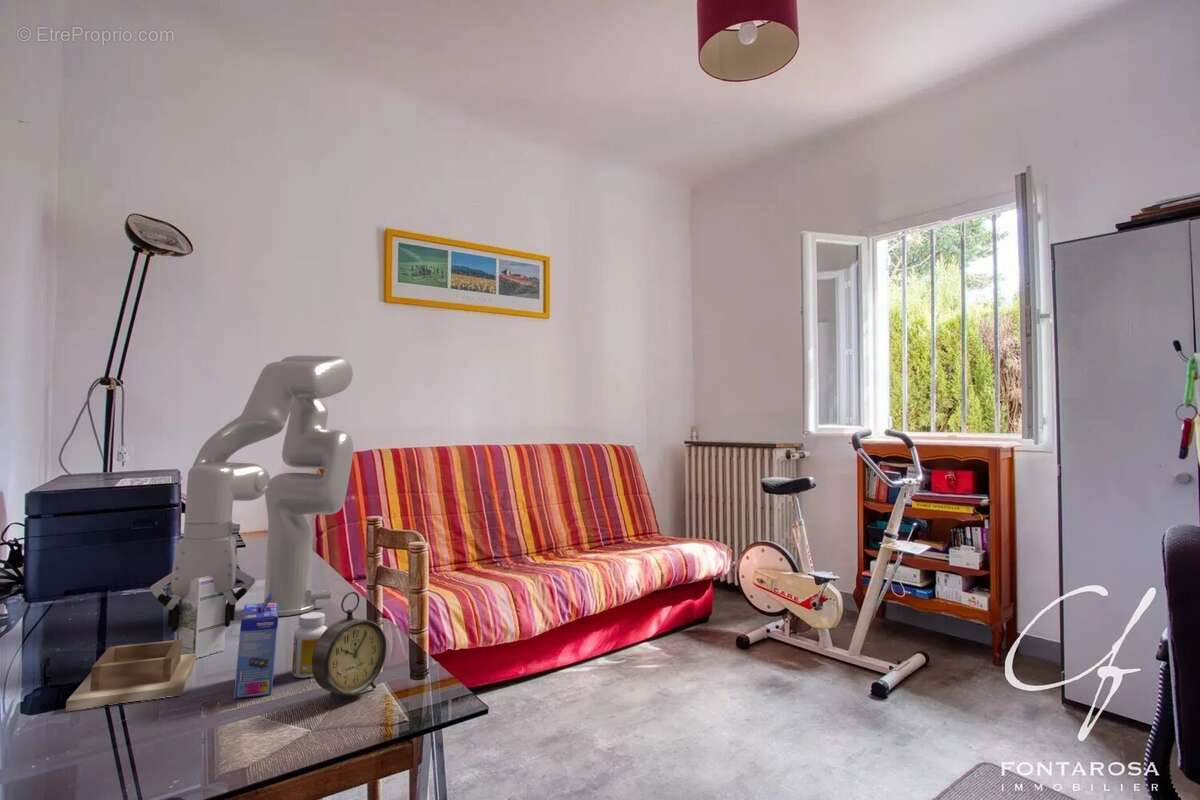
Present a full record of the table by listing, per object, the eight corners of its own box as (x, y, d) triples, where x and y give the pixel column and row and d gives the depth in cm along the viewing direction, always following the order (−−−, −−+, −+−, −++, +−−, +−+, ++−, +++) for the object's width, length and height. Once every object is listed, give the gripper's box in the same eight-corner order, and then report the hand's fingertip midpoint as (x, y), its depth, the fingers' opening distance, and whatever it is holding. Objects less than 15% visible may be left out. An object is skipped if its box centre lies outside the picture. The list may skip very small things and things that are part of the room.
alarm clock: (325, 714, 91) (331, 601, 92) (303, 705, 93) (309, 595, 95) (386, 689, 100) (391, 587, 101) (364, 682, 103) (369, 582, 104)
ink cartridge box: (274, 695, 97) (279, 601, 98) (233, 701, 94) (239, 604, 95) (274, 673, 106) (279, 587, 107) (237, 678, 103) (242, 590, 104)
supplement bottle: (333, 669, 108) (336, 612, 108) (309, 680, 103) (312, 621, 103) (309, 665, 110) (312, 609, 110) (284, 676, 104) (287, 617, 105)
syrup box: (225, 650, 116) (230, 572, 117) (193, 660, 110) (198, 578, 111) (206, 645, 118) (211, 568, 119) (173, 655, 113) (179, 574, 114)
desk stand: (196, 661, 110) (197, 633, 110) (181, 696, 96) (183, 662, 96) (97, 673, 104) (99, 642, 104) (65, 711, 89) (68, 676, 90)
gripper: (261, 526, 123) (256, 617, 122) (155, 530, 115) (148, 627, 114) (259, 532, 116) (253, 627, 115) (146, 536, 109) (139, 639, 107)
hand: (201, 626), depth 115 cm, fingers closed on syrup box, 7 cm apart
